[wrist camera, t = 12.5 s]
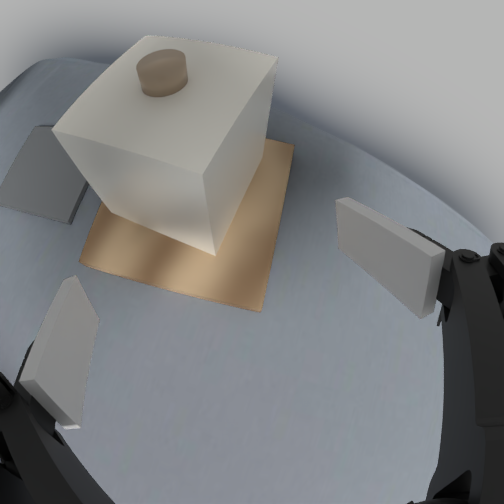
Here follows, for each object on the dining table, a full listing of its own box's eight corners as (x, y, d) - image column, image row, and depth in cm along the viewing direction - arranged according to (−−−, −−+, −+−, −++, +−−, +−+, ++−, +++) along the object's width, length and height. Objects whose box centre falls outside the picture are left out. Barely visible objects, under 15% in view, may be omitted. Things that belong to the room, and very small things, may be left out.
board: (85, 265, 21) (78, 261, 19) (145, 128, 25) (143, 119, 24) (259, 312, 20) (261, 310, 19) (292, 153, 25) (294, 144, 24)
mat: (-4, 204, 22) (-7, 202, 21) (37, 129, 25) (35, 126, 24) (70, 224, 22) (67, 221, 21) (115, 133, 25) (113, 129, 24)
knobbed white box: (111, 212, 21) (40, 112, 10) (166, 128, 24) (142, 18, 13) (215, 256, 20) (199, 152, 9) (262, 158, 23) (281, 37, 12)
